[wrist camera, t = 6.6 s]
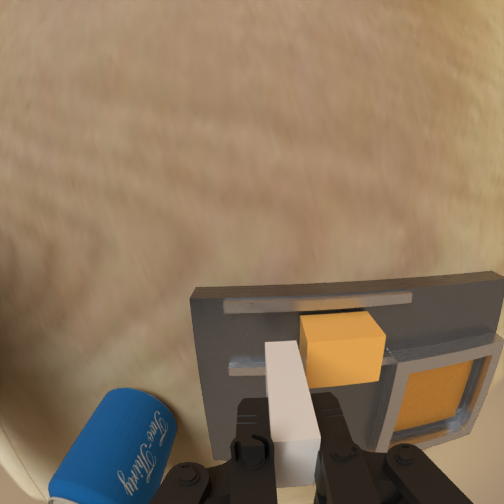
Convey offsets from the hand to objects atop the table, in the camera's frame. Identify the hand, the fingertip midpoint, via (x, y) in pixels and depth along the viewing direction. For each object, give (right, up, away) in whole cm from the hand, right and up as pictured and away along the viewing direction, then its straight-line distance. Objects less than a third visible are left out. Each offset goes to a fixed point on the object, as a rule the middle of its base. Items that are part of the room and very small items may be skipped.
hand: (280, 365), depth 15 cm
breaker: (+3, +1, +3) cm, 5 cm away
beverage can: (-10, -8, +8) cm, 15 cm away
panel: (+6, -3, +6) cm, 9 cm away
